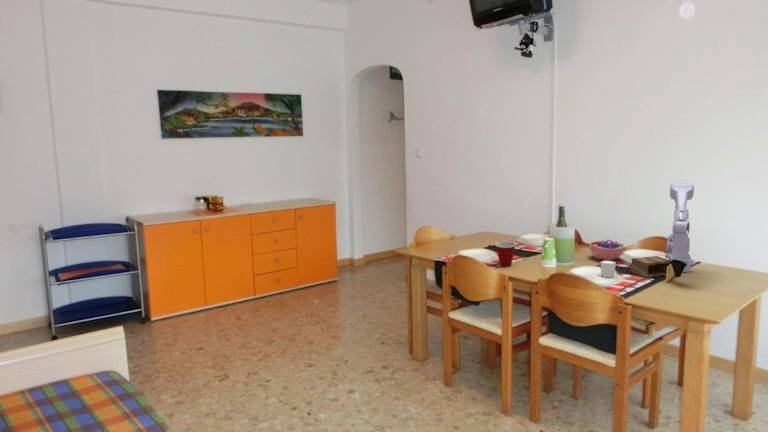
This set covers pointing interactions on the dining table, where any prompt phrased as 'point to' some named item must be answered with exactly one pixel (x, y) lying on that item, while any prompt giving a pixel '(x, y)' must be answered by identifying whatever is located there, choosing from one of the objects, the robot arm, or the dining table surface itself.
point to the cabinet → (650, 266)
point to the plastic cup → (505, 252)
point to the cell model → (606, 250)
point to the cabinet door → (669, 273)
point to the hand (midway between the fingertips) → (677, 276)
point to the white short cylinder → (608, 268)
